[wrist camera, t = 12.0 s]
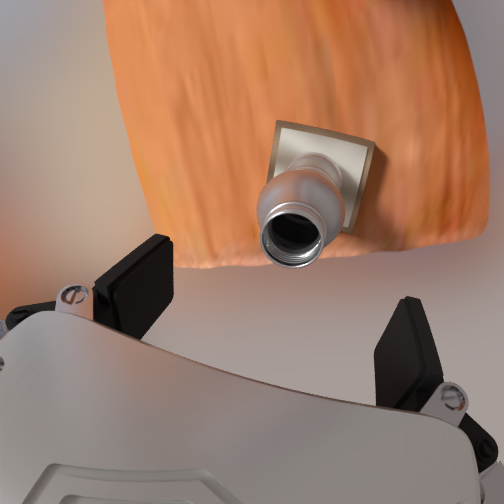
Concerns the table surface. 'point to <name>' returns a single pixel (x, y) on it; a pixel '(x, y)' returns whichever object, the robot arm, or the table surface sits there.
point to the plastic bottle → (301, 210)
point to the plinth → (335, 147)
